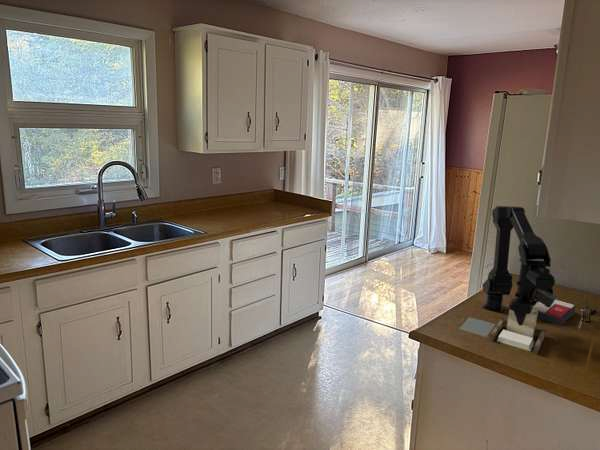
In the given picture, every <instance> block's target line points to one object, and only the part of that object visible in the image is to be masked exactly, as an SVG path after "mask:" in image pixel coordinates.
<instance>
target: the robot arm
mask: <svg viewBox="0 0 600 450" xmlns="http://www.w3.org/2000/svg"><path fill="white" fill-rule="evenodd" d="M525 210H526V209H525V207H522V206H515V205H514V206H511V205H508V206H507V205H496V206H495V208H493V209H492V210H491V211H492V212H491V218H492V223H493V226H494V228H495V229H496V233H495V236H496V237H495V247H494V259H493V267H492V269H491V270H490V271H489V273H488V275H487V279H486V280H485V281H484V282H483V283H482V291H483V292H484V294H485V295H486V301H485V303H484V304H483V306H482V308H483V309H487V310H491V311H493V312H498V313H501V312H502V311H503V310H504V308H505V305H503V300H504V296H510V293H511V291H512V288H513V284H514V283H513V275H512V274H511V273H510V272H509V270H508V267H509V255H510V246H511V245H510V244H511V232H512V230H513V229H514V231H515V233H516V236H517V238H518V240H519V244H518V247H517V249H518V253H519V257H520V258H519V262H520V263H521V264H520V269H519V274H518V280H517V281H516V285H517V287H516V288H517V289H516V292H515V293H514V297H515V298H512V299H511V301H510V302H509V305H508V309H510V310H513V311H514V313H515V316H516V319H517V322H518V325H520V326H522V324H523V322H524V319H525V317H526V314H530V313H531V311H532V310H533V309H532V307H533V306H535V305H536V304H537V303H538V302H540V303H542V304H544V305H545V306H546V307H551V305H552V304H553V302H554V301H555V300H557V299H556V298H557V295H556V293H555V289H554V288H553V287H554V285H555V283H556V280H555V277H554V276H553V274H551V270H550V267H551V266H552V265H551V262H552V260H551V257H550V253H549V249H548V246H547V245H546V243H545V241H544V240H543V239H542V238H541V237H539V236H538V235H536V234H535V232H534V230H533V227H532V226H531V224H530V221H529V219H528V218H527V215H526V212H525ZM548 267H549V268H548Z"/></svg>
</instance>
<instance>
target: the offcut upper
mask: <svg viewBox="0 0 600 450" xmlns="http://www.w3.org/2000/svg"><path fill="white" fill-rule="evenodd" d="M499 333H500V334H499V335H497V336H498V337H497V340H498V341H502V342H505V343H509V344H512V345H515V346H519V347H522V348H525V349H529V348H530V346H531V344H532V342H534V337H533V338H531V337H528V336H524V335H521V334H517V333H514V332H510V331H507V330H506V329H502V331H500V332H499ZM498 341H497V342H498ZM515 346H514V347H515ZM525 349H524V350H525Z"/></svg>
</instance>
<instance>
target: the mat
mask: <svg viewBox="0 0 600 450" xmlns="http://www.w3.org/2000/svg"><path fill="white" fill-rule="evenodd" d="M495 327H496V323H492V322H490V321H489V322H488V321H485V320H481V319H477V318H473V317H471V316H469V317H468V318H467V319H466V320H465V321H464V323H463V324H462V325H461V326H460V327H459V330H461V331H464V332H467V333H471V334H474V335H478V336H481V337H485V338H487V337H488V336H489V334H491V332H492V331H493V329H494V328H495Z"/></svg>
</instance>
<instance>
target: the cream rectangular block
mask: <svg viewBox="0 0 600 450" xmlns="http://www.w3.org/2000/svg"><path fill="white" fill-rule="evenodd" d="M508 309H509V308H508ZM537 315H538V310H534V309H533V310H532V311H531V313H530V314H526V317H525V319H524V322H523V324H522V326H520V325H518V322H517V319H516V316H515V313H514V311H513V310H510V309H509V310H508V315H507V316H508V317H507V320H508V322H507V327H506V329H505V330H507V331H510V332H514V333H517V334H521V335H524V336H528V337H531V338H533V339H534V337H535V335H534V333H535V327H536V325H537V321H538V318H537Z"/></svg>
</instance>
